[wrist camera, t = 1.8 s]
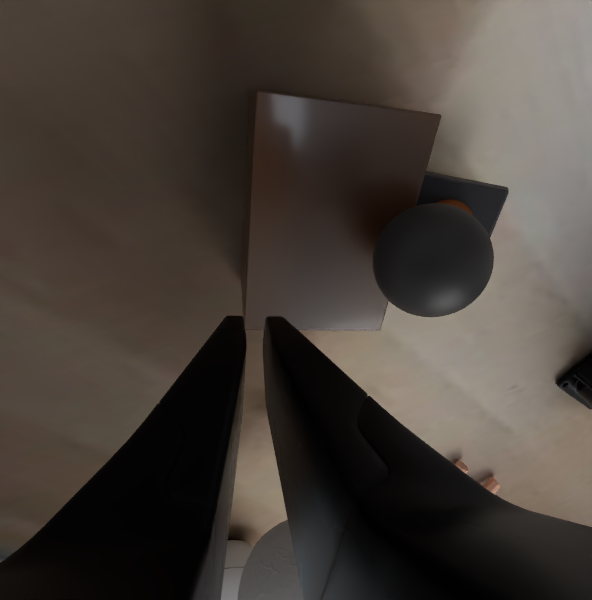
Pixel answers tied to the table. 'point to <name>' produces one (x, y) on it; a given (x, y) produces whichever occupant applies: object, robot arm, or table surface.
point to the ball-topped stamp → (439, 246)
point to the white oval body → (234, 567)
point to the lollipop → (271, 568)
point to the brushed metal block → (324, 205)
